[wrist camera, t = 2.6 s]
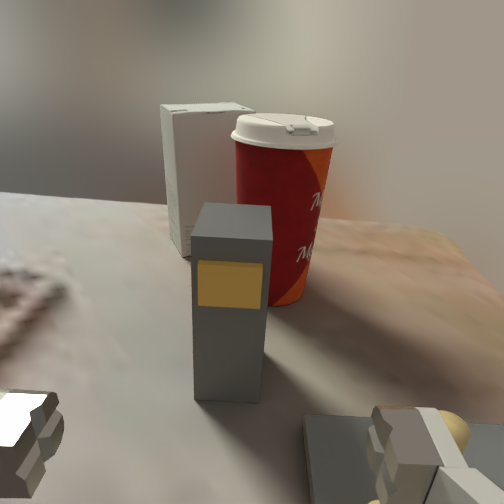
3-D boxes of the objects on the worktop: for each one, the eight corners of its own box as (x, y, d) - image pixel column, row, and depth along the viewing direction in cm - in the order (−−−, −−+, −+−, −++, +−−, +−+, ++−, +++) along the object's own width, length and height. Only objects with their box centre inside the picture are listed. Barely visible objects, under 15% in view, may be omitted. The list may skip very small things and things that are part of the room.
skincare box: (232, 229, 47) (236, 101, 41) (252, 249, 43) (260, 108, 36) (165, 237, 44) (158, 100, 38) (178, 260, 39) (172, 107, 33)
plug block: (192, 406, 23) (188, 239, 18) (205, 345, 28) (204, 202, 23) (259, 409, 23) (273, 244, 18) (259, 348, 28) (270, 205, 23)
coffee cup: (330, 308, 33) (361, 128, 26) (237, 319, 31) (246, 126, 24) (296, 263, 40) (313, 113, 33) (219, 269, 38) (221, 110, 31)
